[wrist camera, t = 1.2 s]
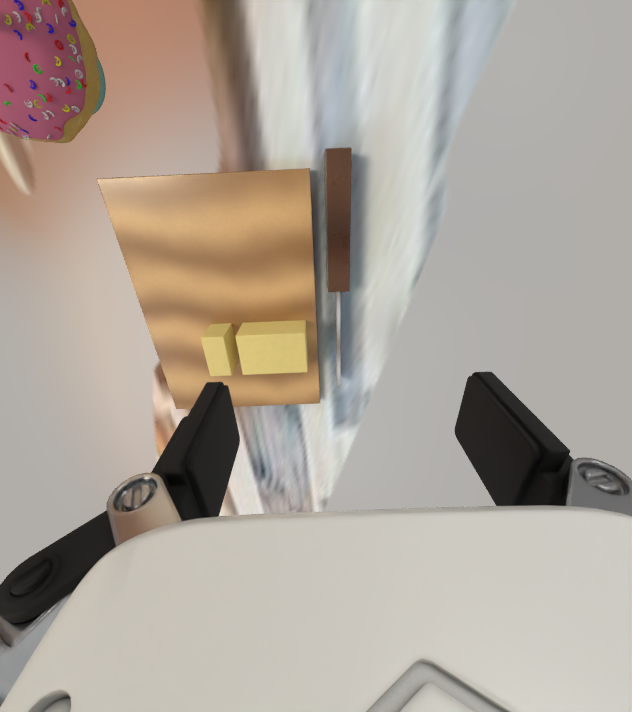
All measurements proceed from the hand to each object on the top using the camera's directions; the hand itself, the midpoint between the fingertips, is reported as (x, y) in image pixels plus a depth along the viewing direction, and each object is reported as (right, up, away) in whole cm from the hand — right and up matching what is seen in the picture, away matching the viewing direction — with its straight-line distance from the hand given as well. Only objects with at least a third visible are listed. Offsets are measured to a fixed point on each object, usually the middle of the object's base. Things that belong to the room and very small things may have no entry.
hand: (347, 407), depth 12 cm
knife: (+1, +9, +15) cm, 18 cm away
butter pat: (-10, +3, +17) cm, 20 cm away
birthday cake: (-18, +21, +8) cm, 29 cm away
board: (-9, +6, +17) cm, 20 cm away
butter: (-5, +4, +17) cm, 18 cm away
